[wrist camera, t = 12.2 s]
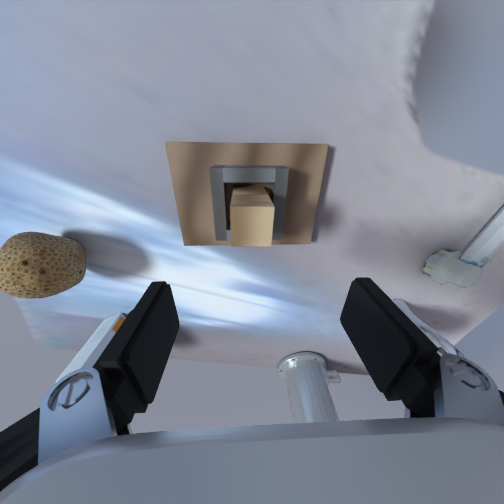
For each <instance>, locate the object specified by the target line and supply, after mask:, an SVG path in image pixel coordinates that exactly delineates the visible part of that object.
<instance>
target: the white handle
mask: <svg viewBox="0 0 504 504" xmlns="http://www.w3.org/2000/svg"><path fill="white" fill-rule="evenodd" d="M503 247H504V206H503V207H502V208H501V209H500V211H499V212H498V213H497V214H496V215H495V216H494V217H493V219H492V220H491V221H490V222H489V223H488V224H487V225H486V227H485V228H484V229H483V230H482V231H481V232H480V233H479V235H478V236H477V237H476V238H475V239H474V240H473V241H472V243H471V244H470V245H469V246H468V247H467V248H466V249H465V250H464V252H461V251H450V250H447V249H444V250H439V251H438V252H437V253H435V254H434V255H430V256H429V257H428V259H427V260H426V261H425V262H427V263H426V266H425V267H424V268H423V273H424V274H426V275H428V276H430V277H431V278H432V281H434V282H436V283H438V284H440V285H442V284H446V283H450V284H453V285H455V286H458V287H468V286H471V285H472V284H474V283H475V282H476V281H477V280H478V279H479V278H480V276H481V274H482V269H481V268H482V267H483V266H484V265H485V264H486V263H487V262H488V261H489V260H490V259H491V258H493V257H494V256H495V255H496V254H497V253H498V252H499V251H500V250H501V249H502V248H503Z"/></svg>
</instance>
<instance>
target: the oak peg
mask: <svg viewBox="0 0 504 504" xmlns="http://www.w3.org/2000/svg"><path fill="white" fill-rule="evenodd" d="M274 209H275V207H274V205H273V203H272V201H271V199H270V197H269V195H268V194H267V192H266V190H265V188H264V186H246V185H234V187H233V193H232V198H231V204H230V224H231V246H271V242H272V231H273V220H274Z"/></svg>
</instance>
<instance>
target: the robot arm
mask: <svg viewBox="0 0 504 504" xmlns="http://www.w3.org/2000/svg"><path fill="white" fill-rule="evenodd" d="M340 321H341V324H342V326H343V328H344V329H345V331H346V333H347V335H348V337H349V338H350V340H351V342H352V344H353V346H354V347H355V349H356V351H357V353H358V354H359V356H360V358H361V360H362V362H363V363H364V365H365V367H366V369H367V371H368V372H369V374H370V376H371V377H372V379H373V381H374V383H375V385H376V387H377V388H378V390H379V391H380V392H382V393H384V395H385V397H386V399H387V401H396V400H402V402H403V403H404V405H405V415H404V418H395V419H375V420H353V421H339V418H338V415H337V412H336V409H335V406H334V404H333V401H332V398H331V395H330V392H329V390H328V387H327V385H328V384H329V383H340V376H339V374H338V373H337V371H336V370H328V371H327V369H326V363H325V360H324V358H323V357H322V356H320V355H318V354H316V353H312V352H300V353H295V354H292V355H290V356H288V357H286V358H284V359H283V360H282V361H281V362H280V363H279V365H278V368H277V369H278V375H279V376H280V378H282V379H283V380H285V381H286V386H287V392H288V397H289V402H290V408H291V413H292V419H293V424H275V425H256V426H238V427H222V428H204V429H187V430H174V431H161V432H150V433H136V434H132V430H131V427H130V422H131V421H132V419H133V416H134V414H135V413H145V412H146V409H147V406H148V404H150V403H152V402H153V400H154V398H155V394H156V392H157V389H158V386H159V383H160V380H161V378H162V375H163V372H164V369H165V366H166V363H167V361H168V358H169V355H170V352H171V349H172V346H173V344H174V341H175V338H176V335H177V332H178V329H179V319H178V315H177V311H176V307H175V303H174V299H173V295H172V291H171V287H170V285H169V284H167V283H166V282H165V281H159V282H152V283H151V284H150V286H149V287H148V289H147V290H146V292H145V293H144V295H143V296H142V298H141V299H140V301H139V302H138V304H137V305H136V307H135V308H134V309H133V310H132V311H131V312H130V313H129V314H128V316H127V317H126V319H125V320H124V321H123V323H122V324H121V326H120V327H119V329H118V330H117V332H116V333H115V335H114V336H113V338H112V339H111V340H110V342H109V343H108V345H107V346H106V348H105V349H104V351H103V352H102V354H101V355H100V357H99V358H98V360H97V361H96V362H95V364H94V365H93V367H92V368H90V367H85V368H81V369H78V370H75V371H73V372H71V373H69V374H67V375H66V376H64V377H63V378H61V379H60V380H59V381H58V382H57V383H55V384H54V385H53V386H52V387H51V389H50V390H49V391H48V392H47V393H46V395H45V397H44V398H43V400H42V403H41V407H40V408H38V409H37V410H35V411H33V412H32V413H30V414H29V415H27V416H25V417H24V418H22V419H21V420H19V421H18V422H16V423H14V424H13V425H11V426H9V427H8V428H6V429H5V430H3V431H2V432H0V504H504V393H503V392H502V391H500V390H498V388H497V385H496V384H495V382H494V380H493V379H492V378H491V377H490V376H489V374H488V373H486V372H485V371H484V370H483V369H482V368H481V367H479V366H478V365H476V364H475V363H473V362H472V361H470V360H468V359H466V358H464V357H461V356H458V355H455V354H443V355H442V356H440V355H439V354H438V353H437V351H438V350H439V348H438V347H437V346H436V345H435V344H434V343H433V342H432V341H431V340H430V339H429V338H428V337H427V336H426V335H425V334H424V333H423V332H422V331H421V330H420V329H419V328H418V327H417V326H416V325H415V324H414V323H413V322H412V321H411V320H410V318H409V317H408V316H407V315H406V314H405V313H404V312H403V311H402V310H401V309H400V308H399V307H398V306H397V305H396V304H395V303H394V302H393V301H392V300H391V299H390V298H389V297H388V296H387V295H386V294H385V293H384V292H383V291H382V290H381V289H380V288H379V287H378V286H377V285H376V284H375V283H374V282H373V281H372V280H371V279H370V278H368V277H367V278H356V279H355V280H354V281H352V283H351V286H350V289H349V292H348V295H347V298H346V301H345V304H344V307H343V310H342V313H341V317H340Z"/></svg>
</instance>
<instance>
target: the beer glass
mask: <svg viewBox="0 0 504 504" xmlns="http://www.w3.org/2000/svg"><path fill="white" fill-rule="evenodd" d="M392 301H393V302H394V303H395V304H396V305H397V306H398V307H399V308H400V309H401V310H402V311H403V312H404V313H405V314H406V315H407V316H408V317H409V318H410V320H411V321H412V322H413V323H414V324H415V325H416V326H417V327H418V328H419V329H420V330H421V331H422V332H423V333H424V334H425V335H426V336H427V337H428V338H429V339H430V340H431V341H432V342H433V343H434V344H435V345H436V346H437V347H438V348H439V350H438V351H437V353H438V354H439V355H440V356H442V355H443V354H455V355H458V356H461V357H464V358H466V357H465V356H464V355H463V354H462V353H461V352H460V351H459V350H458V349H457V348H456V347H455V346H454V345H452V344H451V343H450V342H449V341H448V340H447V339H446V338H444V337H443V336H442V335H440V334H439V333H438V332H436V331H435V330H434V329H432V328H431V327H430V326H428V325H427V324H425V323H424V322H423V321H421V320H420V319H419V318H418V317H416V316H415V315H414V314H413V313H412V311H411V310H410V309H409V307H408V306H407V304H406V303H405V302H404V301H403V300H400V299H393V300H392Z"/></svg>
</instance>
